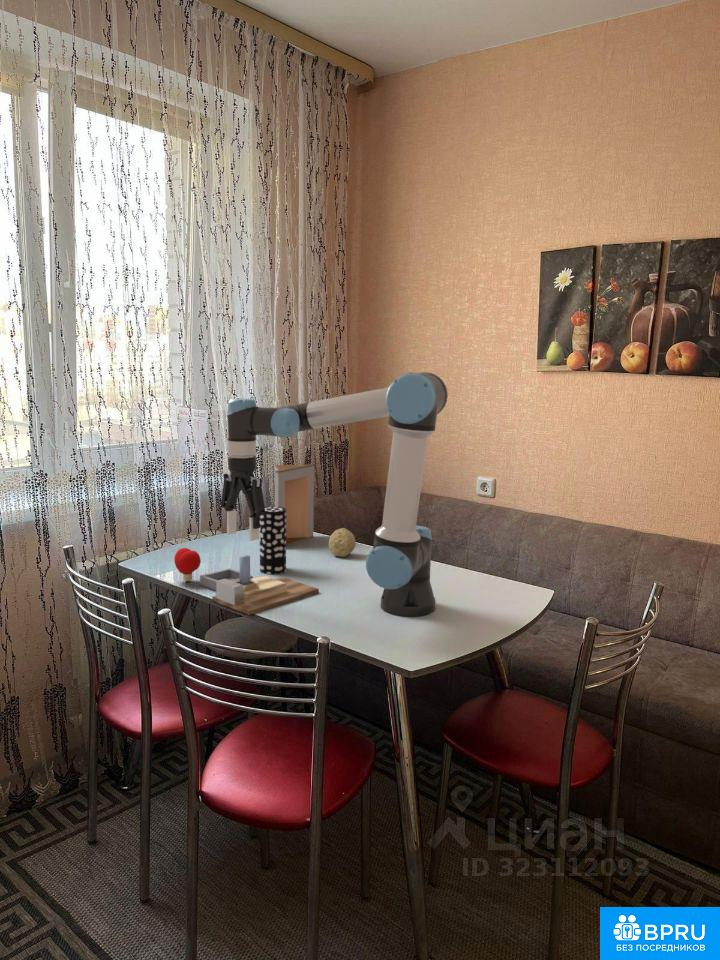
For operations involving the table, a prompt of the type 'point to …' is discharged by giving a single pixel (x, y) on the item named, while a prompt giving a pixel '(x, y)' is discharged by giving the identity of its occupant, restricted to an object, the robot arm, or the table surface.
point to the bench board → (273, 597)
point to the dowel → (244, 569)
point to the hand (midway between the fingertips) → (242, 536)
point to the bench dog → (229, 591)
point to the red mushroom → (187, 562)
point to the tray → (219, 578)
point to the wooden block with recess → (262, 588)
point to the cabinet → (296, 500)
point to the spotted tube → (273, 541)
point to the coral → (342, 542)
